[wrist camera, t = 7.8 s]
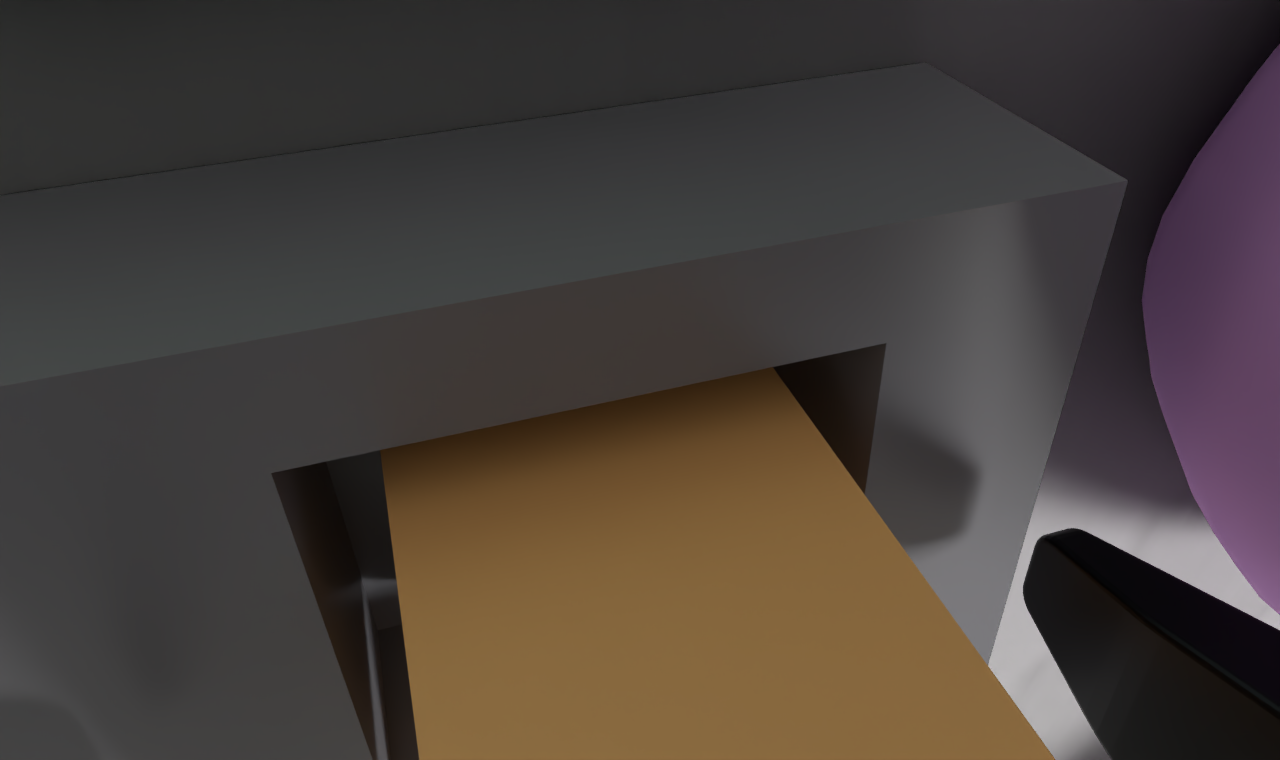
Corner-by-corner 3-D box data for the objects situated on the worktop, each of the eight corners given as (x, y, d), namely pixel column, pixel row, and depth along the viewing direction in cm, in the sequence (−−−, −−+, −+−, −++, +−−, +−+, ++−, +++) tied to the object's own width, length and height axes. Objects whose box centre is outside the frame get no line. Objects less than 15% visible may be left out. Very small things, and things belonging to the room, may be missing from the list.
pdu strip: (925, 62, 11) (1128, 180, 9) (857, 538, 16) (974, 711, 13) (-1491, 409, 7) (-2593, 858, 4) (-612, 917, 12) (-877, 1282, 9)
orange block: (704, 272, 11) (1080, 794, 6) (702, 512, 14) (971, 1042, 8) (365, 334, 11) (452, 1007, 5) (424, 579, 13) (526, 1216, 8)
